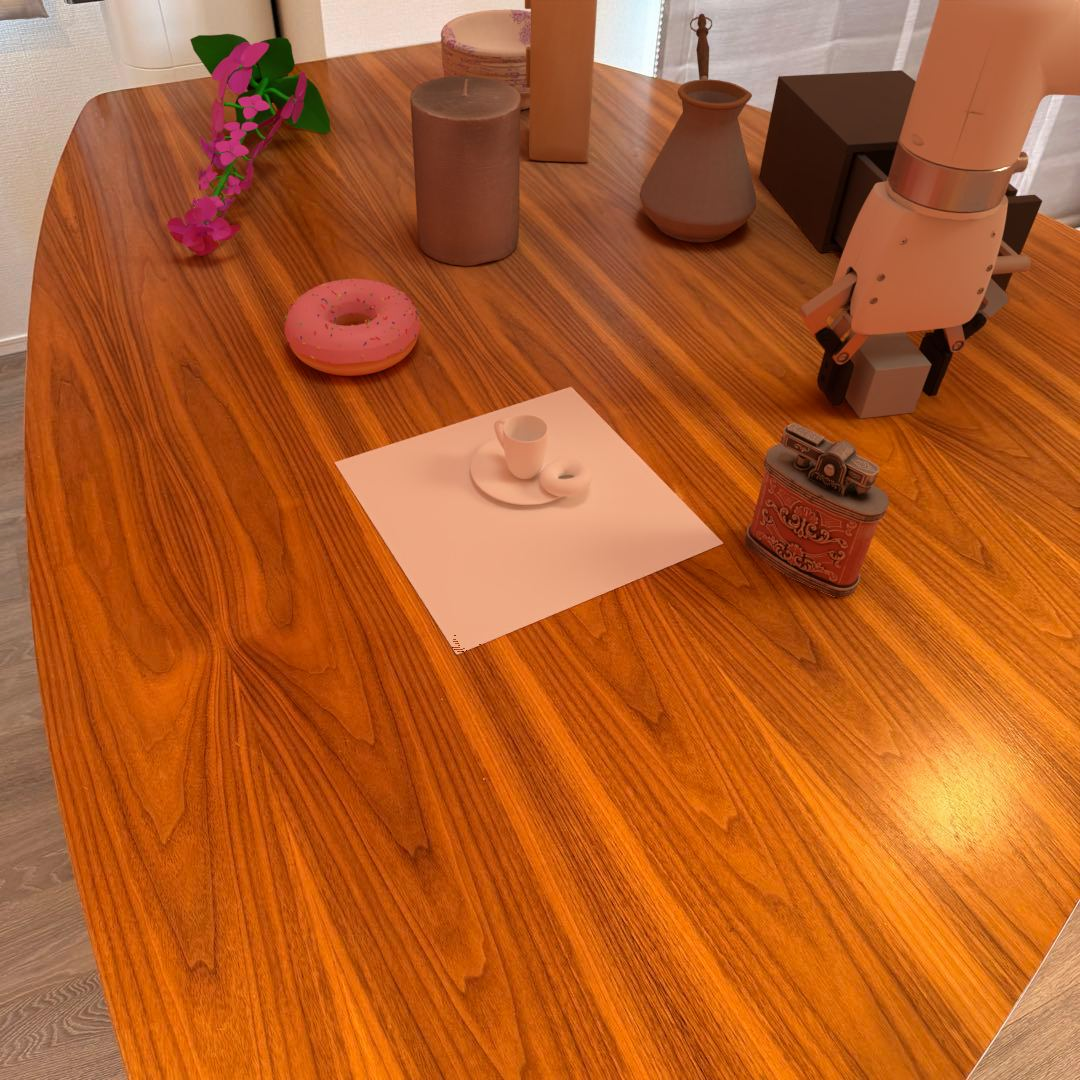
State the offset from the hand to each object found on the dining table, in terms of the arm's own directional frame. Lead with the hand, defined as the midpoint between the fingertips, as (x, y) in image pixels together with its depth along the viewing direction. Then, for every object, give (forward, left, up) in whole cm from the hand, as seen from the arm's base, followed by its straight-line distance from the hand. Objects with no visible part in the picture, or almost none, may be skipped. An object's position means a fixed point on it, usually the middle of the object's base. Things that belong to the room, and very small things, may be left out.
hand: (876, 389), depth 77 cm
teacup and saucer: (+30, +7, -1) cm, 31 cm away
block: (0, 0, -1) cm, 1 cm away
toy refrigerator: (+15, -50, -1) cm, 52 cm away
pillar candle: (+28, -30, -1) cm, 41 cm away
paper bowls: (+18, -65, -1) cm, 67 cm away
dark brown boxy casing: (-12, -31, -1) cm, 33 cm away
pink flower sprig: (+48, -46, -1) cm, 66 cm away
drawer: (-12, -17, 0) cm, 21 cm away
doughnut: (+40, -14, -1) cm, 42 cm away
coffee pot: (+4, -35, -1) cm, 35 cm away
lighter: (+13, +16, -1) cm, 21 cm away
